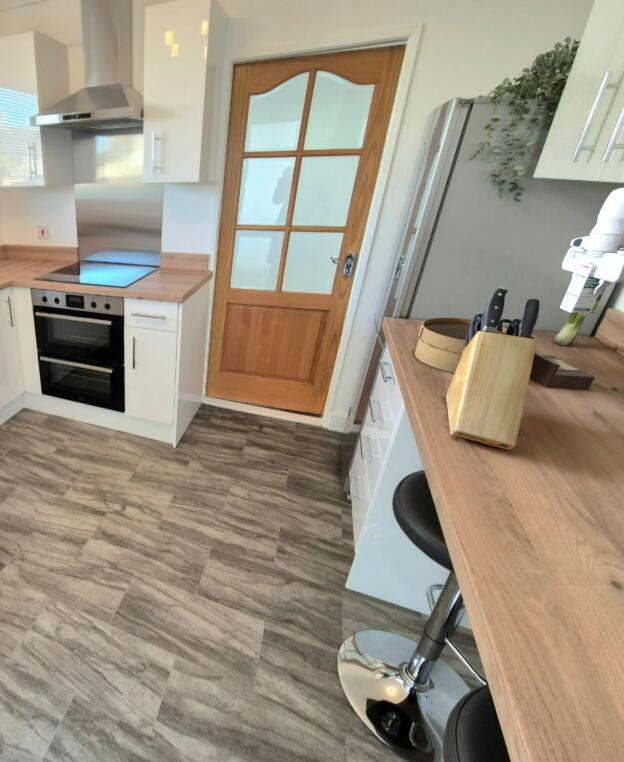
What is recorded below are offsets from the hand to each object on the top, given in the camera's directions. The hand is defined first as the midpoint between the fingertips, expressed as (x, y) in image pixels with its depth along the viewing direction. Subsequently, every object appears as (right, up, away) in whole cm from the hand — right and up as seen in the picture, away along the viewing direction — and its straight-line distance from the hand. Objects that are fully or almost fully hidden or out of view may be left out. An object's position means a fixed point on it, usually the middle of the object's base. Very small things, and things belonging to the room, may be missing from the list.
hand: (585, 291), depth 130 cm
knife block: (-51, -36, -20) cm, 66 cm away
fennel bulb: (+19, -14, +25) cm, 34 cm away
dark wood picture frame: (-11, -26, +1) cm, 28 cm away
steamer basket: (-30, -21, +12) cm, 38 cm away
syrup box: (0, -6, +3) cm, 6 cm away
